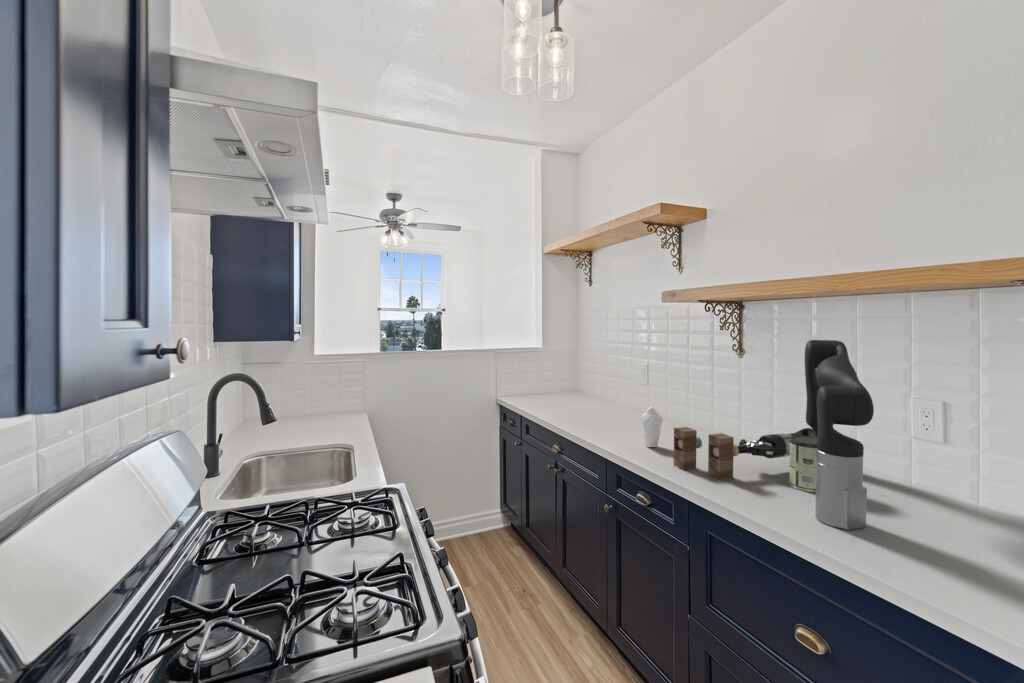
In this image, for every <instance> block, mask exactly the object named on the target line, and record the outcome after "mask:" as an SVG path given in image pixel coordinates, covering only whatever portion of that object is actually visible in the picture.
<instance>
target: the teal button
mask: <svg viewBox="0 0 1024 683" xmlns="http://www.w3.org/2000/svg"><path fill="white" fill-rule="evenodd" d="M678 446H679V448H680V449H683V440H682V439H681V440H678ZM702 446H703V441H702V439H701V437H699V436H697V437H696V449H701V448H702Z"/></svg>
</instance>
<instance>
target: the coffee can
mask: <svg viewBox="0 0 1024 683" xmlns="http://www.w3.org/2000/svg"><path fill="white" fill-rule="evenodd" d="M789 440H790V456H789V468H788V469H789V472H788V473H789V474H788V475H789V476H788V477H789V478H788V486H790V487H792V488H794V489H795V490H796V489H797V490H800V491H802V490H803V491H804V492H807V493H814V494H816V465H817V437H811V436H792V437H790V438H789ZM803 491H802V492H803Z"/></svg>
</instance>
